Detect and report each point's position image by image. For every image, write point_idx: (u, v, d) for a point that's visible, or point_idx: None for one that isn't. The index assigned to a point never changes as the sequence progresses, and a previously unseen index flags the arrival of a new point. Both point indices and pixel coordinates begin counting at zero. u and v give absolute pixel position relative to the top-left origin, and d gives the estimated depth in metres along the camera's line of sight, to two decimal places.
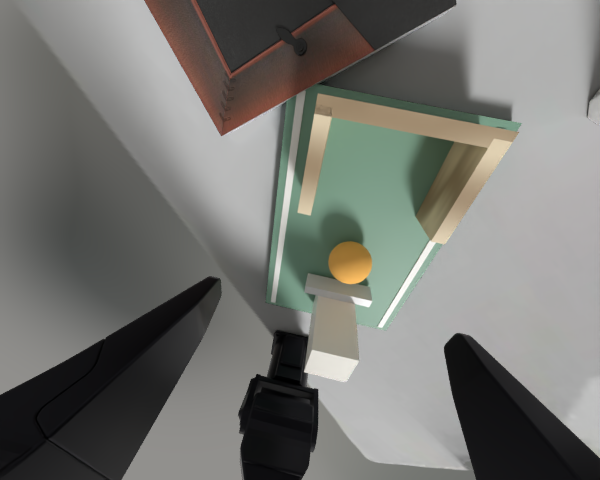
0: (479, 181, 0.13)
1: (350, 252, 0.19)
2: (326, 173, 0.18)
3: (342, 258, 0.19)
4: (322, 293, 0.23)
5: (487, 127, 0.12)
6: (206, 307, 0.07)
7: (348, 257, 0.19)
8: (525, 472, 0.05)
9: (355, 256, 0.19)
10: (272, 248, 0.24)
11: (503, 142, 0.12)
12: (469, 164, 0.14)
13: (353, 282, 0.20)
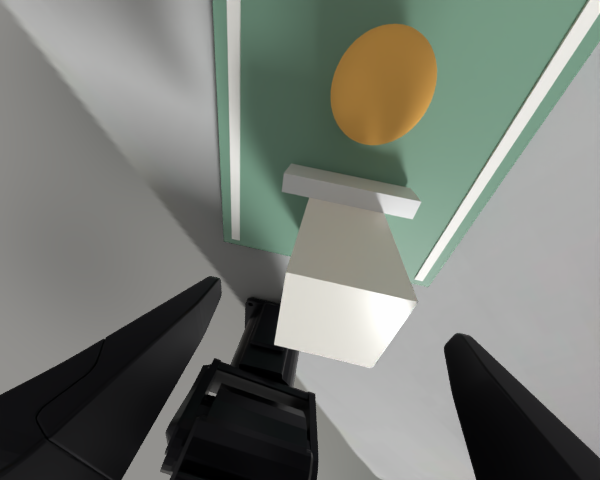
0: None
1: (388, 27, 0.07)
2: None
3: (367, 43, 0.07)
4: (318, 190, 0.11)
5: None
6: (206, 307, 0.07)
7: (383, 35, 0.07)
8: (524, 472, 0.05)
9: (402, 31, 0.07)
10: (220, 108, 0.12)
11: None
12: None
13: (392, 118, 0.08)
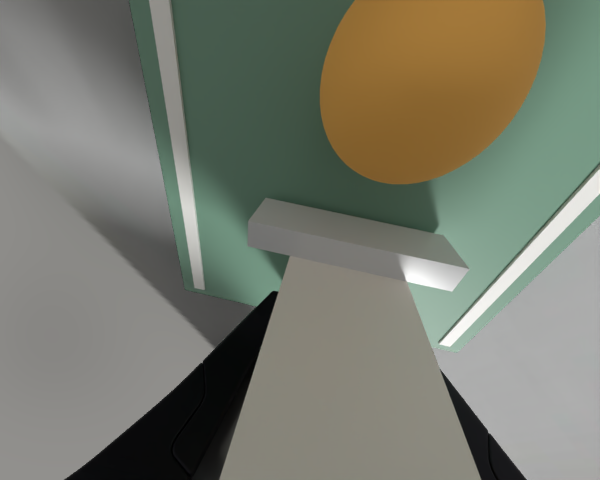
0: None
1: None
2: None
3: None
4: (303, 247, 0.07)
5: None
6: None
7: None
8: None
9: None
10: (155, 116, 0.08)
11: None
12: None
13: (446, 146, 0.04)
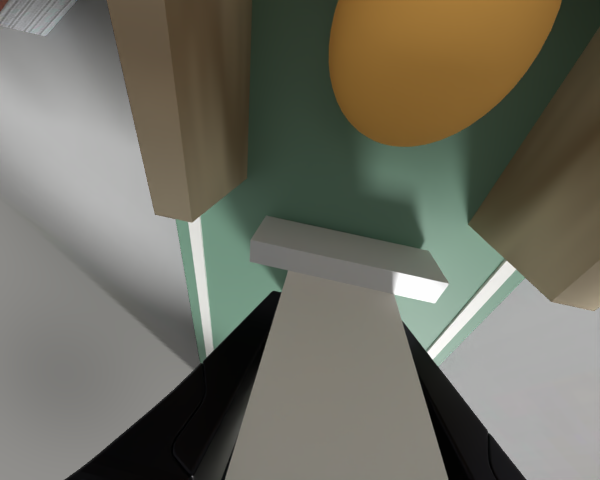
0: None
1: (390, 113, 0.04)
2: (262, 123, 0.08)
3: (356, 117, 0.05)
4: (300, 263, 0.08)
5: None
6: None
7: (376, 126, 0.05)
8: None
9: (405, 130, 0.04)
10: (188, 282, 0.13)
11: None
12: None
13: None
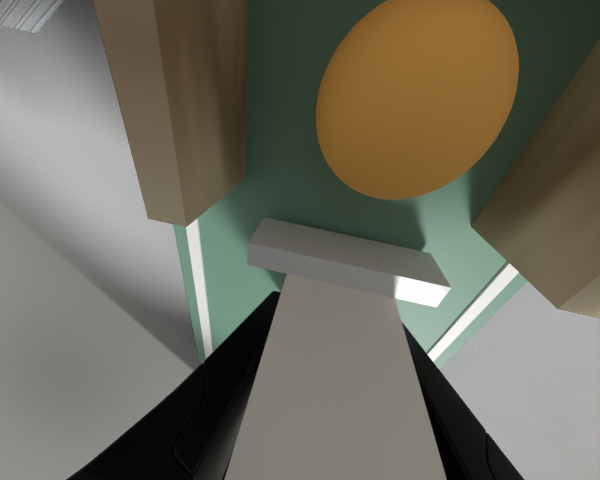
0: None
1: (357, 190, 0.06)
2: (260, 122, 0.08)
3: None
4: (299, 266, 0.08)
5: None
6: None
7: None
8: None
9: None
10: (186, 283, 0.13)
11: None
12: None
13: None
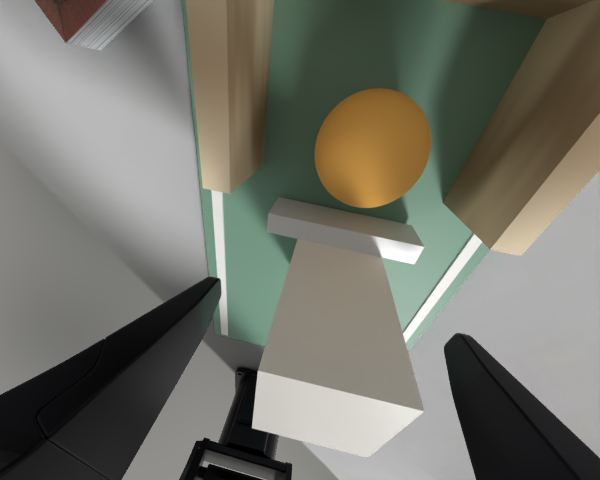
0: None
1: None
2: (277, 120, 0.10)
3: None
4: (307, 232, 0.10)
5: None
6: (206, 307, 0.07)
7: None
8: (524, 472, 0.05)
9: None
10: (209, 258, 0.15)
11: None
12: None
13: None
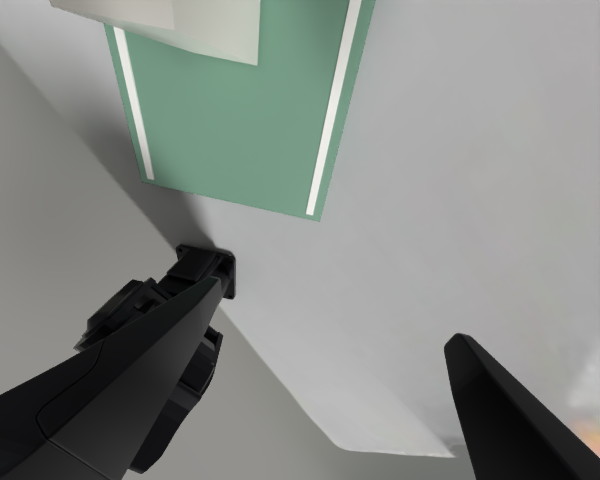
0: None
1: None
2: None
3: None
4: None
5: None
6: (206, 307, 0.07)
7: None
8: (525, 472, 0.05)
9: None
10: (111, 48, 0.14)
11: None
12: None
13: None
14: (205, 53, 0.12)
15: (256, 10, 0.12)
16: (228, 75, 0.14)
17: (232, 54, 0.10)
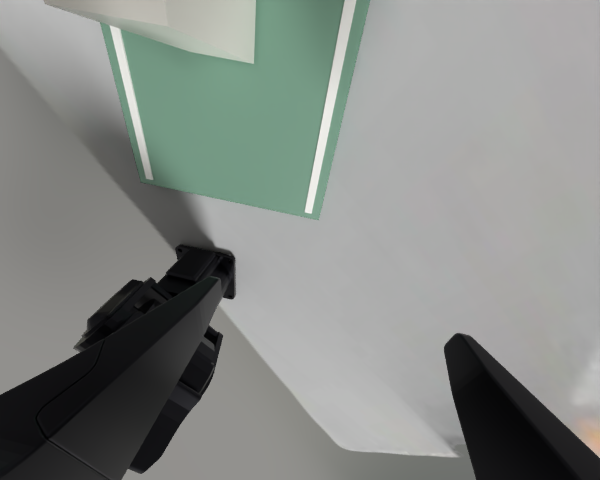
0: None
1: None
2: None
3: None
4: None
5: None
6: (206, 307, 0.07)
7: None
8: (525, 473, 0.05)
9: None
10: (108, 48, 0.14)
11: None
12: None
13: None
14: (201, 52, 0.12)
15: (252, 8, 0.12)
16: (225, 74, 0.14)
17: (228, 52, 0.10)
